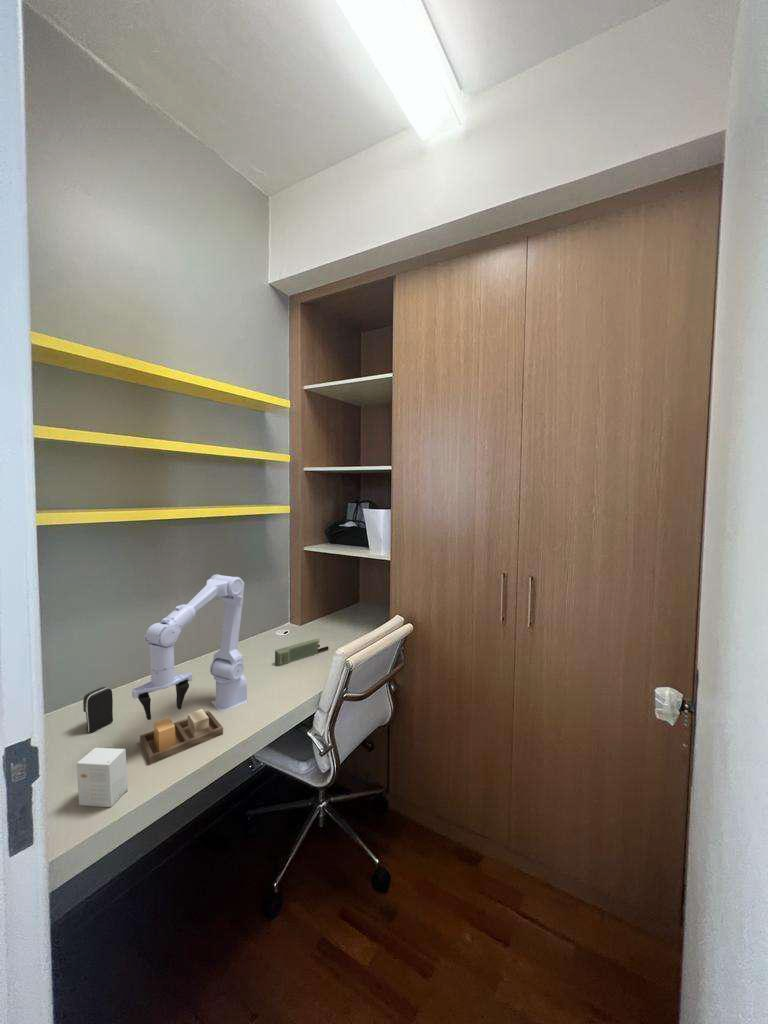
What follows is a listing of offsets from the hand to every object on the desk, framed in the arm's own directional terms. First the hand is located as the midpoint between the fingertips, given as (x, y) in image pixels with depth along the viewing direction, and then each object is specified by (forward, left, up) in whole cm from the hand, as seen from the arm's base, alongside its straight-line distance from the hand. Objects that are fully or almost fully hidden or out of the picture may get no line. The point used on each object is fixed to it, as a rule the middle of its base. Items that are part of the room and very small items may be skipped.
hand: (164, 712), depth 110 cm
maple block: (-9, 0, -10) cm, 13 cm away
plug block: (0, 0, -10) cm, 10 cm away
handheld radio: (-59, -24, -11) cm, 65 cm away
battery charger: (+13, -24, -10) cm, 29 cm away
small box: (+16, +10, -10) cm, 21 cm away
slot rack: (-4, 0, -10) cm, 11 cm away
